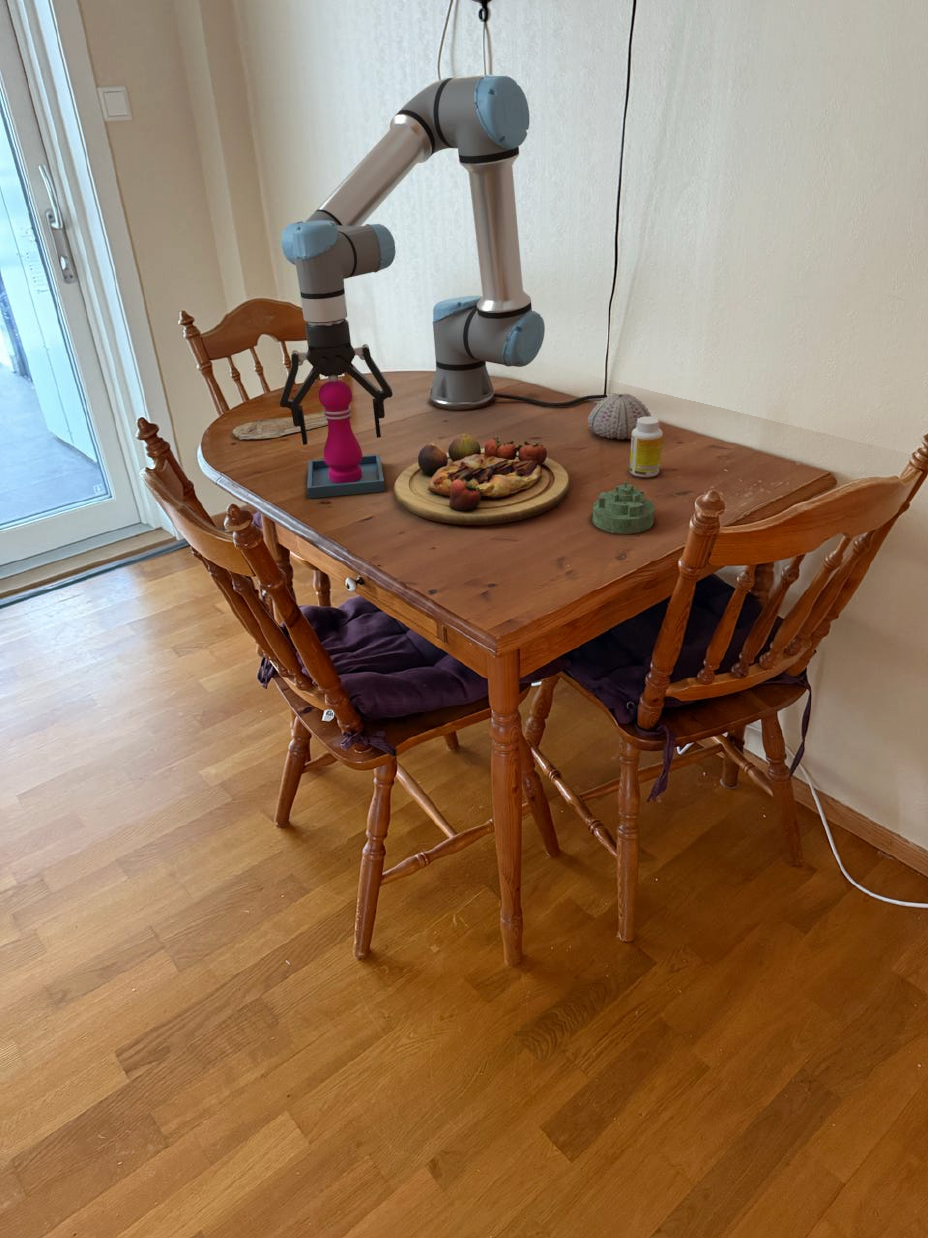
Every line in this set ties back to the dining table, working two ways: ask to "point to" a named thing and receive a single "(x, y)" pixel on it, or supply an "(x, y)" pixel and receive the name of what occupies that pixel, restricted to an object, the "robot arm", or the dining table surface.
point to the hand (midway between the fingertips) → (342, 438)
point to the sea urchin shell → (617, 416)
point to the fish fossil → (277, 427)
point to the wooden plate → (481, 482)
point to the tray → (324, 487)
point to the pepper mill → (340, 433)
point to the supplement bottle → (646, 447)
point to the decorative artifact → (623, 511)
